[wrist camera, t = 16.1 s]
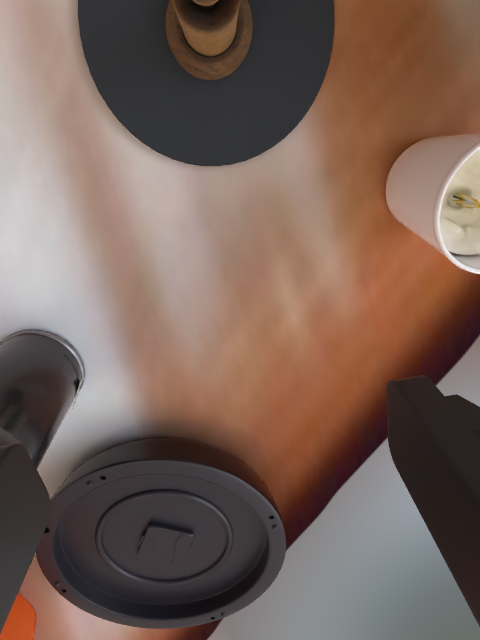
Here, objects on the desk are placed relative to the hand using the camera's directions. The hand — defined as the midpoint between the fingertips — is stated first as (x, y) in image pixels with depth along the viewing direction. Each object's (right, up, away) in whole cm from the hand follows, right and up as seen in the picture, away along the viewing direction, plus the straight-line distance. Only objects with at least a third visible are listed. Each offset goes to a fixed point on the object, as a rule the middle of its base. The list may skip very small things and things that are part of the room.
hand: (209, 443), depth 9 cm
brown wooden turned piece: (-2, +25, +24) cm, 35 cm away
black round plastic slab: (-9, -23, +47) cm, 53 cm away
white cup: (+18, +16, +30) cm, 39 cm away
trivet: (-2, +26, +24) cm, 36 cm away
